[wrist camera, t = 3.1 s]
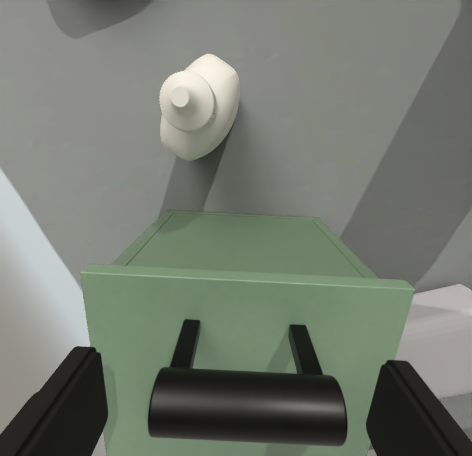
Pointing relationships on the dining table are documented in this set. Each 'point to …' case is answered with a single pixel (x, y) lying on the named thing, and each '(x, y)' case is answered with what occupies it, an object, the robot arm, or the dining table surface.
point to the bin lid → (240, 359)
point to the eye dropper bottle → (198, 107)
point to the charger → (440, 339)
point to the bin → (243, 245)
